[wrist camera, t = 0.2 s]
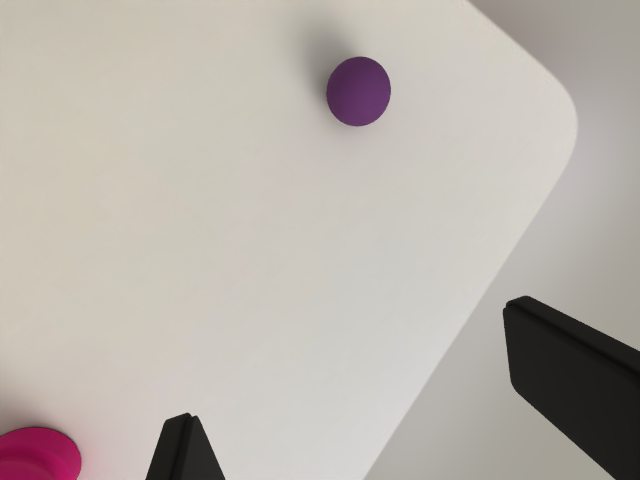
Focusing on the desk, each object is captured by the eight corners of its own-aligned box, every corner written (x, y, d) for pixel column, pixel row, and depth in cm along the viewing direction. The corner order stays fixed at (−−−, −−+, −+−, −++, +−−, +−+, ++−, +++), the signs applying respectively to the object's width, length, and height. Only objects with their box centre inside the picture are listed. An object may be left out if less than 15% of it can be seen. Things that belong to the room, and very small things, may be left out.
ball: (314, 73, 23) (327, 56, 19) (370, 60, 23) (394, 40, 19) (328, 135, 24) (343, 130, 20) (382, 120, 24) (406, 113, 20)
